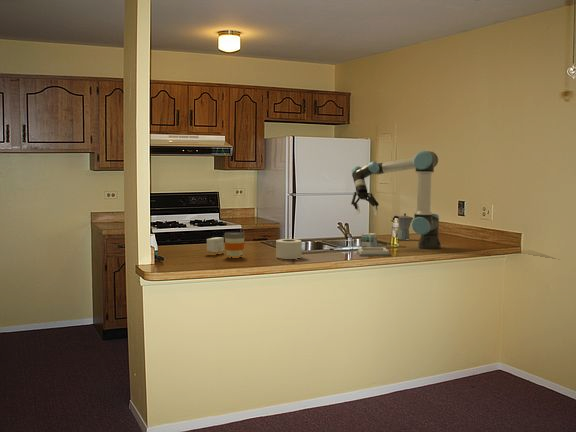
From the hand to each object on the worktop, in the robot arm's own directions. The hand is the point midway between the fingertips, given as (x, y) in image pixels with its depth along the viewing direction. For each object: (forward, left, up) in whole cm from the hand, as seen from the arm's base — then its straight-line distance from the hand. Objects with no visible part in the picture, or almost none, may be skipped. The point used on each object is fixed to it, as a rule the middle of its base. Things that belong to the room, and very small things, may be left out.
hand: (367, 214), depth 417 cm
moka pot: (-33, -50, -24) cm, 64 cm away
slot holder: (-1, +24, -23) cm, 34 cm away
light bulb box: (-1, +5, -24) cm, 24 cm away
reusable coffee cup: (+85, +38, -24) cm, 96 cm away
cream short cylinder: (+52, +40, -24) cm, 70 cm away
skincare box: (+99, +25, -24) cm, 104 cm away
